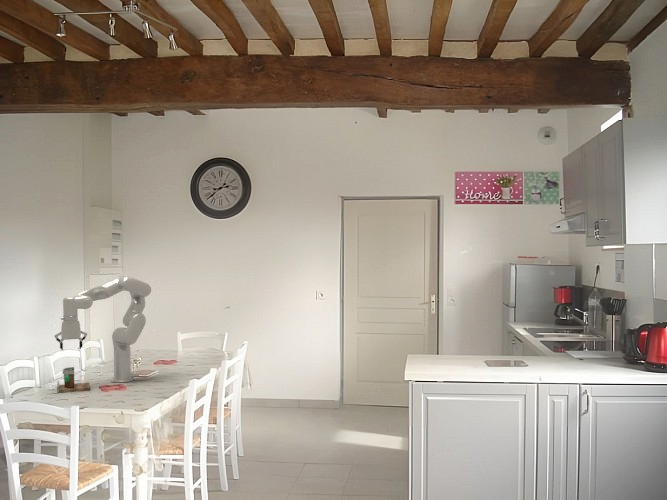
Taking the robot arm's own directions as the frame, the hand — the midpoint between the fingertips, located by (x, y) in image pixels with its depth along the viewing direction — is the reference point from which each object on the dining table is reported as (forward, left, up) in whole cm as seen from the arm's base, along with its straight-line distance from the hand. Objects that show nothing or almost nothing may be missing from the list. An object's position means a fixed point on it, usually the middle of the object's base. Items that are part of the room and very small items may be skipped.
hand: (71, 349), depth 394 cm
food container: (+2, +1, -21) cm, 21 cm away
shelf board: (-1, +1, -22) cm, 22 cm away
